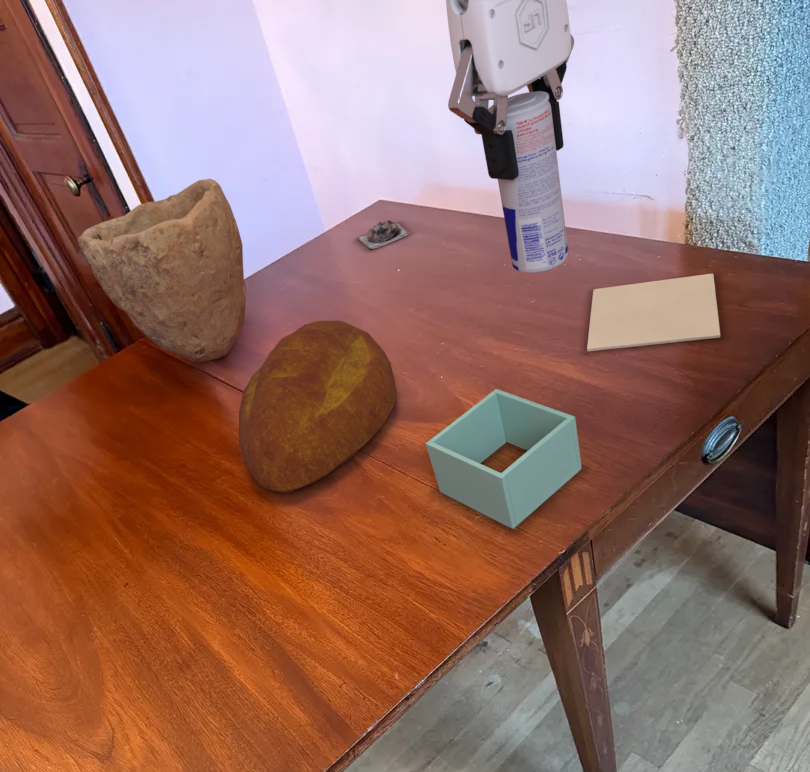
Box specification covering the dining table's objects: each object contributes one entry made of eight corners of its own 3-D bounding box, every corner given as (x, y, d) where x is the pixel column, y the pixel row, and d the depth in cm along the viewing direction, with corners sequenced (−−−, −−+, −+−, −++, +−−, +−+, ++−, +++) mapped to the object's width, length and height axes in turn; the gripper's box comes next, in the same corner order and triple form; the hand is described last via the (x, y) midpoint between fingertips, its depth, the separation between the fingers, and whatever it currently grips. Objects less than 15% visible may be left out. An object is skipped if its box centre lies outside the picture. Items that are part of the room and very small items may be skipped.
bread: (208, 505, 94) (161, 426, 86) (301, 361, 116) (271, 287, 108) (358, 504, 87) (323, 417, 78) (428, 350, 108) (407, 269, 100)
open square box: (506, 438, 88) (496, 388, 84) (582, 468, 81) (575, 416, 76) (439, 492, 84) (425, 443, 80) (512, 529, 77) (501, 478, 72)
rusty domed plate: (369, 251, 140) (366, 240, 139) (358, 239, 146) (355, 228, 145) (410, 234, 141) (407, 224, 139) (397, 223, 147) (395, 213, 145)
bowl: (259, 306, 135) (199, 163, 118) (299, 350, 119) (236, 190, 102) (144, 359, 131) (65, 219, 115) (169, 412, 115) (81, 257, 98)
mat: (713, 275, 102) (713, 273, 102) (720, 337, 92) (720, 334, 91) (593, 291, 108) (593, 289, 108) (587, 351, 97) (586, 349, 97)
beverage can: (577, 249, 75) (559, 85, 66) (556, 277, 72) (533, 109, 63) (526, 250, 78) (502, 93, 68) (504, 276, 75) (475, 116, 65)
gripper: (447, -55, 51) (494, 207, 63) (600, -124, 58) (617, 126, 70) (378, -41, 56) (434, 200, 68) (526, -106, 63) (553, 125, 75)
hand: (526, 161), depth 69 cm, fingers closed on beverage can, 5 cm apart
